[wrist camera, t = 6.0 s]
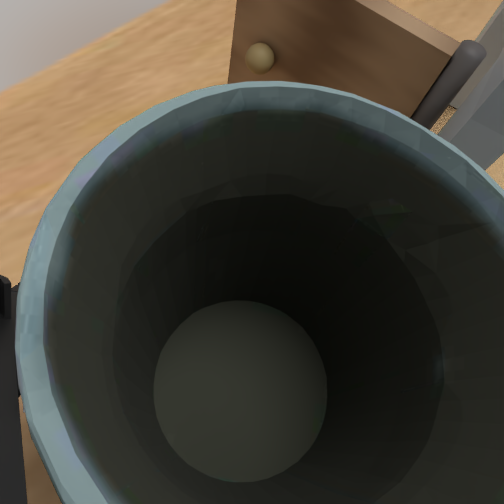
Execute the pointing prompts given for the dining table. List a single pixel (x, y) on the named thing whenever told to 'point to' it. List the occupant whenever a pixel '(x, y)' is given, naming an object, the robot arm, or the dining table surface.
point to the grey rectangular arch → (482, 101)
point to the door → (353, 52)
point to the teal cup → (268, 309)
